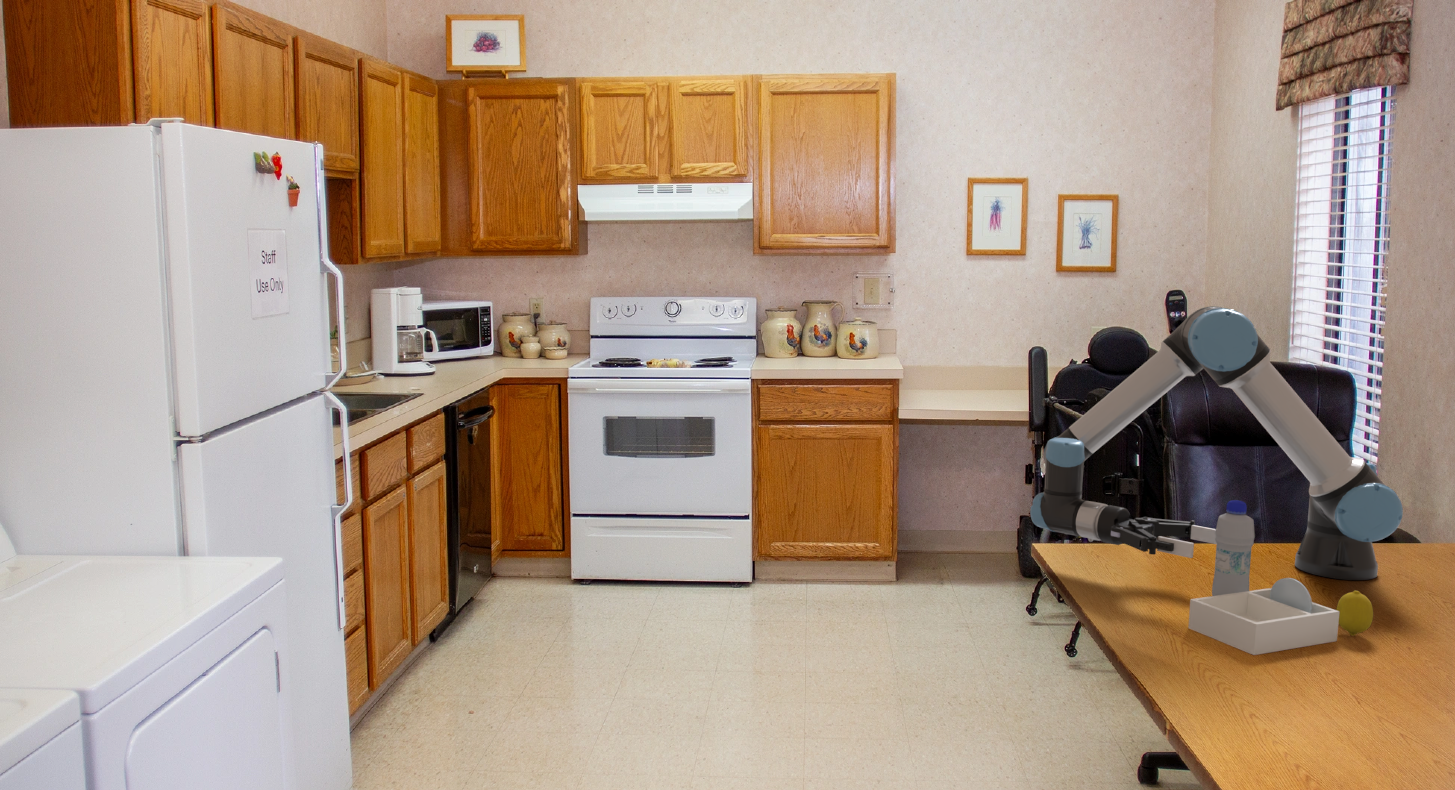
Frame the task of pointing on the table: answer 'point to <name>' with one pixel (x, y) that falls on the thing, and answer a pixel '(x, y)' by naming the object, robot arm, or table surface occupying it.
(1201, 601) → the divided tray
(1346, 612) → the lemon
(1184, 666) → the table surface
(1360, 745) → the table surface
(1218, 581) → the bottle
